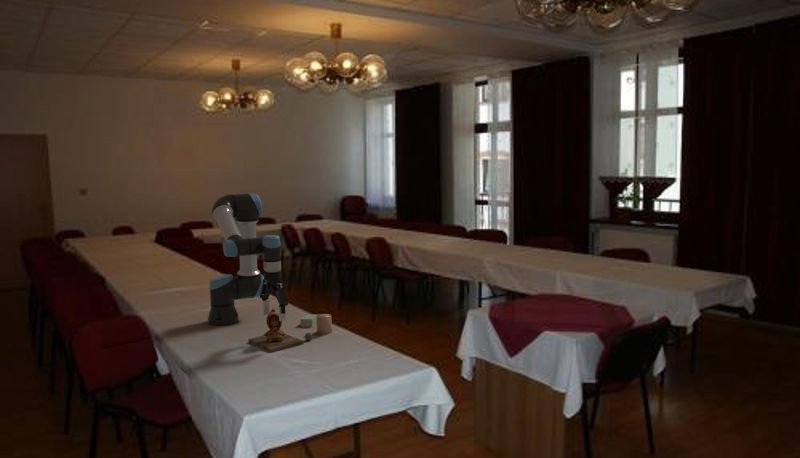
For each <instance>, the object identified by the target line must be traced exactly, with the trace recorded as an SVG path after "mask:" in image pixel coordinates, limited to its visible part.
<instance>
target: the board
mask: <svg viewBox="0 0 800 458" xmlns="http://www.w3.org/2000/svg"><path fill="white" fill-rule="evenodd" d="M285 334H286V333H285ZM247 340H248V343H249V344H251V345H254V346H257V347H258V348H260V349H263V350H265V351H267V352H269V353H274V352H275V353H276V352H278V351H283V350H286V349H290V348H293V347H298V346H301V345H304V340H303V339H299V338H298V337H296V336H295V337H294V336H292V335H290V334H286V335H285V336H283V340H282V342H272V343H268V342H267V336H264V334H263V335H260V336H255V337H249V338H248V339H247Z"/></svg>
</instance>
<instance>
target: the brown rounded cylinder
mask: <svg viewBox="0 0 800 458" xmlns="http://www.w3.org/2000/svg"><path fill="white" fill-rule="evenodd" d="M316 315H317V316H316V320H317V323H316V334H317V335H322V336H323V335H324V336H325V335H329V334H331V333H332V332H333V329H332V327H333V325H332V322H333V321H332V315H331V314H329V313H321V314H316Z"/></svg>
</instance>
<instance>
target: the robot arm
mask: <svg viewBox="0 0 800 458" xmlns="http://www.w3.org/2000/svg"><path fill="white" fill-rule="evenodd" d="M211 215H212V217H213V220H214V221H215V222H217V224H218V227H219V229H220V232H221V234H222V237H223V239H224V241H223V243H222V251H223V255H224V256H225V257H227V258H231V257H232V258H236V257H239V270H238V271H237V273H236V276H234V275H233V274H230V273H229V274H221V275H217V276H214V277H212V278H211V279H210V280H209V288H208V289H209V298H210V299H209V301H210V309H209V311H208V312H209V313H208V315H207V324H209V325H211V326H226V325H232V324H235V323H237V322H239V321H240V319H239V312H238V311H237V309H236V306H235V301H236V300H237V301H238V300H244V299H254V298H260V299H261V300H262V312H263V316H266V315H267V316H268V314H269V313H270V300H269V297H270V295H271V293H273V294H274V295H275V297H276V299H277V301H278V313H279V321H282V322H283V321H286V306H288V305H289V302H288V298H287V295H286V291H285V286H284V285H285V284H284V282H282V283H280V281H281V280H282V259H281V258H282V256H281V245H282V244H281V238H280V237H281V236H279V235H277V234H266V235H261V236H259V237H257V223H258V222H259V221H260V217H263V204H262V201H261V198H260V196H259V195H258V194H256V193H237V194H235V193H234V194H226V195H222V196H220V197H219V198H218V199H216V201H215V202H214V204H213V205H212V209H211ZM258 255H262V257H263V258H262V259H263V260H262V261H263V264H262V266H263V270H264V271H263V274H262V273H261V271H260V270H259V269H258Z"/></svg>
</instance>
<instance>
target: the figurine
mask: <svg viewBox="0 0 800 458" xmlns="http://www.w3.org/2000/svg"><path fill="white" fill-rule="evenodd" d="M282 324H283V321H279V311H276V309H275V308H272V309H271V310H269V314H267V316H266V325H267V328H268V329H269V330H267V331H266V332H264V334H263V335H264V336H267V342H268V343H272V342H282V340H283V336H285V335H286V333H285V332H284V331H283V330H282V329H281V327H282Z"/></svg>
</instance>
